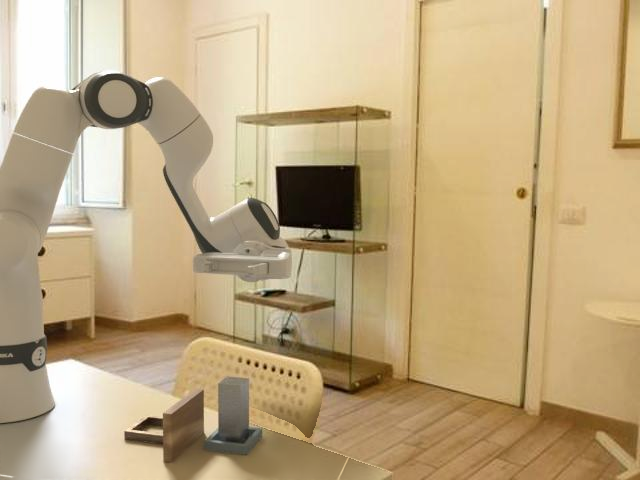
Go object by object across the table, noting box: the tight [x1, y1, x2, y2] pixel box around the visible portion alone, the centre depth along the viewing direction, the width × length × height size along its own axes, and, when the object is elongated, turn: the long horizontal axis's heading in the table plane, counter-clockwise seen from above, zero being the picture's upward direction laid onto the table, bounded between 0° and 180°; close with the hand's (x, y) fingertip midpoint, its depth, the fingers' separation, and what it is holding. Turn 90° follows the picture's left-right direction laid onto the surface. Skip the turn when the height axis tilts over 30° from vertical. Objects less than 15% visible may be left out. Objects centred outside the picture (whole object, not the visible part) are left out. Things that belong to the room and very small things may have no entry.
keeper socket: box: [203, 426, 263, 456], centre depth 106 cm, size 8×8×2 cm
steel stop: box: [217, 376, 250, 444], centre depth 105 cm, size 4×4×11 cm
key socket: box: [123, 414, 163, 445], centre depth 109 cm, size 8×8×2 cm
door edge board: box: [162, 388, 205, 463], centre depth 104 cm, size 2×12×8 cm, turn 166°
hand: (227, 269), depth 118 cm, fingers open, 8 cm apart
